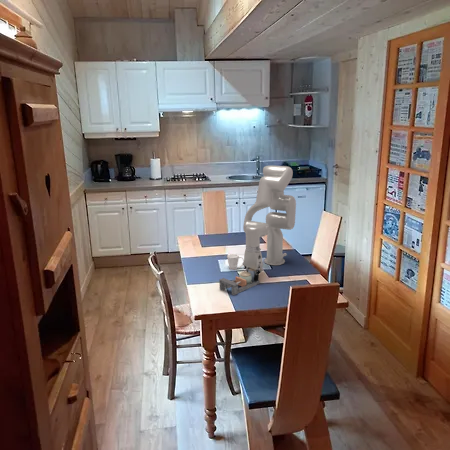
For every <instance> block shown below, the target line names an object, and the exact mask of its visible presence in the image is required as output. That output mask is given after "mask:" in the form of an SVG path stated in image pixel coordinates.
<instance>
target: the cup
mask: <svg viewBox="0 0 450 450" xmlns="http://www.w3.org/2000/svg"><path fill="white" fill-rule="evenodd" d="M226 258H227V263H228V264H227V265H228V267H229V269H230V270H231V271H235V270H238V269H239V268H241V267H242V266H243V264H242V263H243V262H244V257H242V256H240V255H239V254H237V253H229V254H227V255H226ZM239 259H242V261H243V262H242V263H241V265H239V266H238V264H239ZM243 267H244V266H243ZM237 268H238V269H237Z"/></svg>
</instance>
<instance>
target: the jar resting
mask: <svg viewBox="0 0 450 450" xmlns="http://www.w3.org/2000/svg"><path fill="white" fill-rule="evenodd" d="M239 278H242V279H245V280H246V285H247V284H250V283H252V274H251V273H250V272H246V271H241V272H240V273H239Z"/></svg>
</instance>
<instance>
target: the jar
mask: <svg viewBox="0 0 450 450" xmlns="http://www.w3.org/2000/svg"><path fill="white" fill-rule="evenodd" d="M248 272H250V273H251V274H252V282H254V275H255V271H254V269H252V268H249V269H248Z"/></svg>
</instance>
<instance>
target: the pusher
mask: <svg viewBox="0 0 450 450" xmlns="http://www.w3.org/2000/svg"><path fill="white" fill-rule="evenodd" d="M235 280H236V283H238V287H239V286H240V287H243V286H245V285H246V280H245V279H242V278H240V276H235ZM231 288H232V287H231V286H228V289H231Z"/></svg>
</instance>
